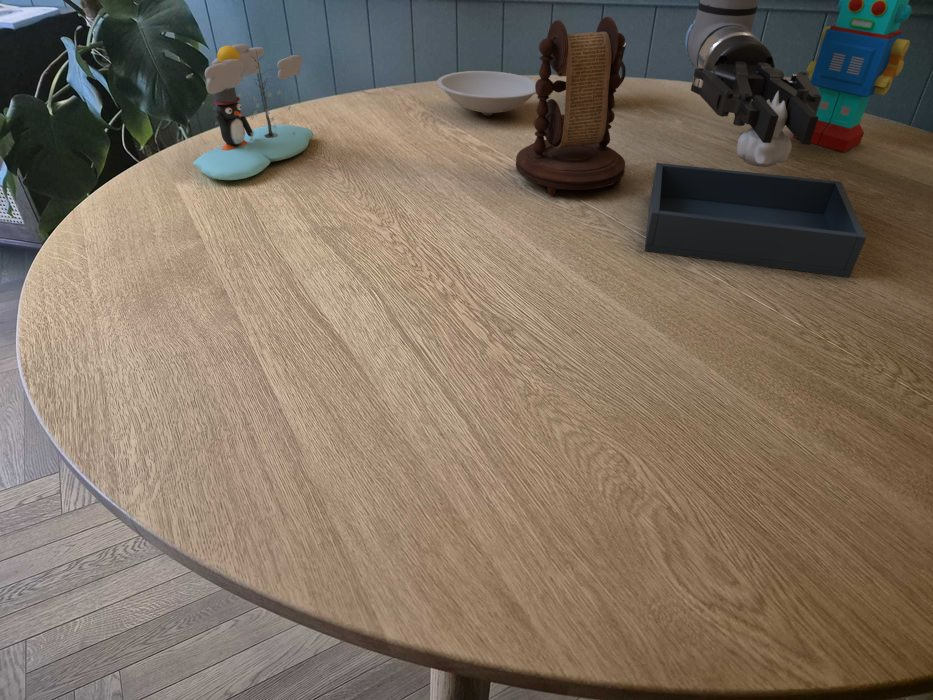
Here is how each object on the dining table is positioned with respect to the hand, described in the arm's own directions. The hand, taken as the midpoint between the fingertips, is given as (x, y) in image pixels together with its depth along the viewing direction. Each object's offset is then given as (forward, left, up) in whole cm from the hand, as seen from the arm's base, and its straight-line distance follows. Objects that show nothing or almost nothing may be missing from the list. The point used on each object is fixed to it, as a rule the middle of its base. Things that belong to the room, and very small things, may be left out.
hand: (790, 130), depth 65 cm
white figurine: (+1, -5, -6) cm, 8 cm away
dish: (+40, -39, -14) cm, 58 cm away
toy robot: (-14, -41, -14) cm, 46 cm away
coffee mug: (+23, -48, -14) cm, 55 cm away
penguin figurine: (+67, -11, -14) cm, 70 cm away
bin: (+1, -5, -14) cm, 15 cm away
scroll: (+23, -16, -14) cm, 32 cm away
